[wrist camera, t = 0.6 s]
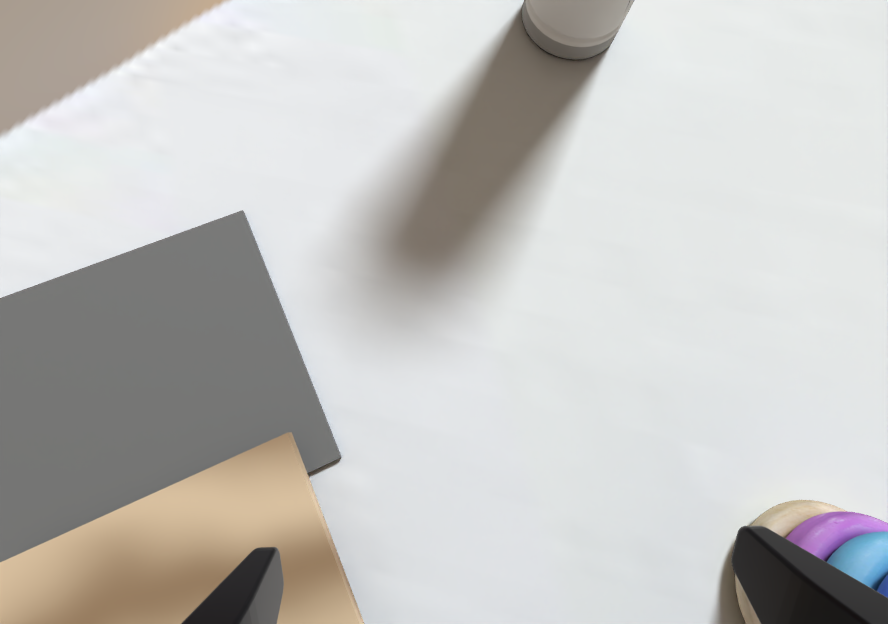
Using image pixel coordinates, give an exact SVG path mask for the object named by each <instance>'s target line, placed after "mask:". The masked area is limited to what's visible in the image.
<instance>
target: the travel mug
mask: <svg viewBox="0 0 888 624" xmlns="http://www.w3.org/2000/svg"><path fill="white" fill-rule="evenodd" d="M633 2H634V0H524V3H523V7H522V19H523V23H524V26H525V29H526V31H527V33H528V35H529V36H530V37H531V39H532V40H533V41H534V42H535V43H536V44H537V45H538V46H539V47H540V48H542V49H543V50H545V51H546V52H548V53H550V54H553V55H555V56H558V57H561V58H565V59H585V58H589V57H593V56H595V55H597V54H599V53H601V52H603V51H604V50H605V49H606V48H608V47H609V45H610V44H611V43H612V41H613V40H614V38H615V36H616V34H617V32H618V30H619V28H620V27H621V25H622V22H623V20H624V19H625V17H626V15H627V13H628V12H629V10H630V8H631V6H632V4H633Z"/></svg>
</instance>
